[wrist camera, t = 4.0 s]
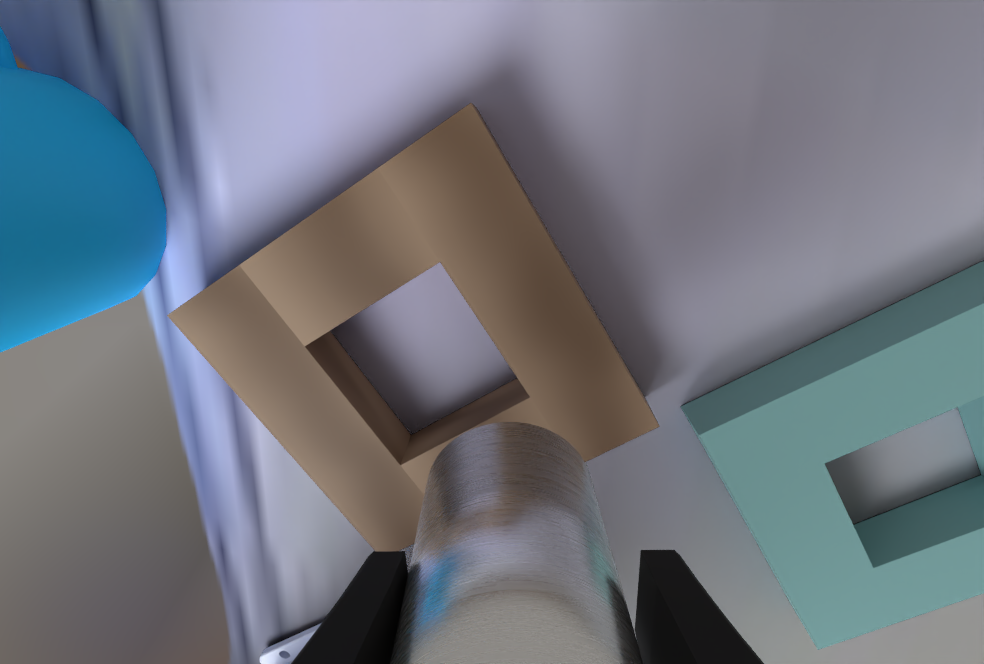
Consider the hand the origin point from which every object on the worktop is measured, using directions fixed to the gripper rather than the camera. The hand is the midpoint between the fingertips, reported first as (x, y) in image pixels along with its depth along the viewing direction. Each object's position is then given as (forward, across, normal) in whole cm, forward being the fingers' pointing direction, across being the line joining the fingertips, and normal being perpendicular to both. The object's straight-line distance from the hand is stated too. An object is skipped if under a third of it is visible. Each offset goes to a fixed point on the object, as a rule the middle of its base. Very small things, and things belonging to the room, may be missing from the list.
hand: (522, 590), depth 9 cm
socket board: (+10, -14, +4) cm, 18 cm away
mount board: (+10, +3, -1) cm, 11 cm away
